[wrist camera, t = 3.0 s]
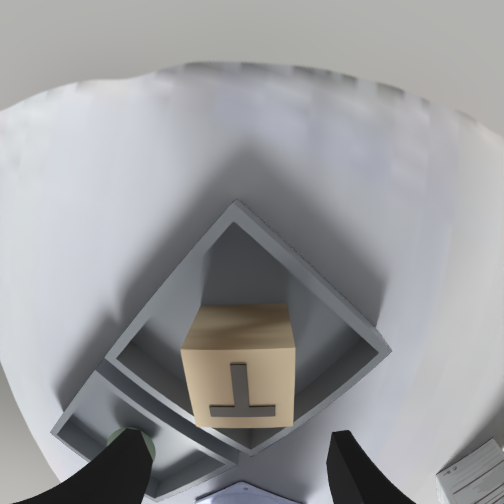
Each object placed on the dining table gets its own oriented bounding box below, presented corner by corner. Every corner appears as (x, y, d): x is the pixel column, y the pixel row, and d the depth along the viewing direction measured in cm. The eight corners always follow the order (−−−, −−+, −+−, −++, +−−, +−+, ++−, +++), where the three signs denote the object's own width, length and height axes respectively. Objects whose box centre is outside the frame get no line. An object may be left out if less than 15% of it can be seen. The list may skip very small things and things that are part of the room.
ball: (169, 438, 20) (158, 474, 16) (146, 454, 21) (134, 486, 17) (129, 410, 20) (111, 444, 16) (109, 429, 21) (92, 459, 17)
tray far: (239, 437, 21) (237, 464, 18) (163, 481, 23) (156, 502, 20) (112, 347, 19) (94, 369, 16) (63, 413, 21) (49, 432, 18)
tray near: (376, 328, 18) (392, 351, 15) (252, 428, 20) (251, 456, 18) (237, 198, 17) (232, 202, 14) (122, 335, 19) (104, 357, 16)
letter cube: (286, 302, 17) (295, 348, 12) (286, 372, 18) (293, 427, 13) (200, 305, 17) (179, 350, 13) (209, 374, 19) (196, 427, 14)
